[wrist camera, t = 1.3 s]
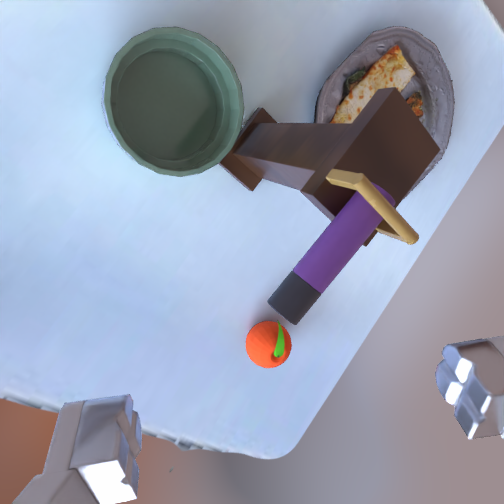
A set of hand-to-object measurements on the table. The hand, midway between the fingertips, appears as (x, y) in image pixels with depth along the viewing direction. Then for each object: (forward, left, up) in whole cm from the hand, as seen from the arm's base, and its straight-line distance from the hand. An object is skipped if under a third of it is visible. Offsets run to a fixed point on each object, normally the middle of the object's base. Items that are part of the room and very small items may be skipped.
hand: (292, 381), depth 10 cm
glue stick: (+1, +12, -17) cm, 21 cm away
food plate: (-13, +35, -43) cm, 57 cm away
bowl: (-9, +4, -43) cm, 44 cm away
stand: (-6, +16, -43) cm, 46 cm away
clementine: (+21, +22, -43) cm, 53 cm away
